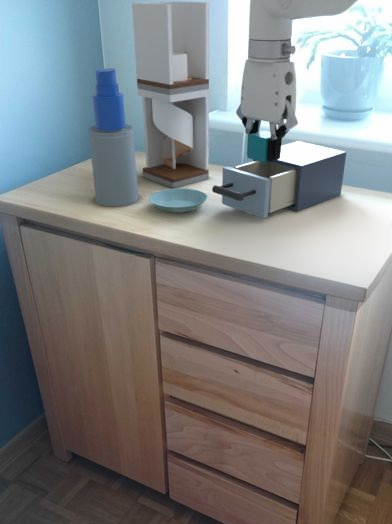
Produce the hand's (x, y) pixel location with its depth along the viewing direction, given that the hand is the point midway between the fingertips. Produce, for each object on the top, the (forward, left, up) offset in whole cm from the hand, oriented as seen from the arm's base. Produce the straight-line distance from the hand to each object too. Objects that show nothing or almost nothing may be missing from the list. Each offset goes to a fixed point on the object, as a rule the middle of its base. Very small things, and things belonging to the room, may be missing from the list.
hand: (263, 156), depth 108 cm
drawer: (0, +1, -10) cm, 10 cm away
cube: (0, 0, 0) cm, 0 cm away
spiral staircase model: (+28, -1, -11) cm, 30 cm away
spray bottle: (+25, +18, -11) cm, 32 cm away
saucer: (+12, +12, -11) cm, 20 cm away
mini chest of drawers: (0, -11, -10) cm, 15 cm away
